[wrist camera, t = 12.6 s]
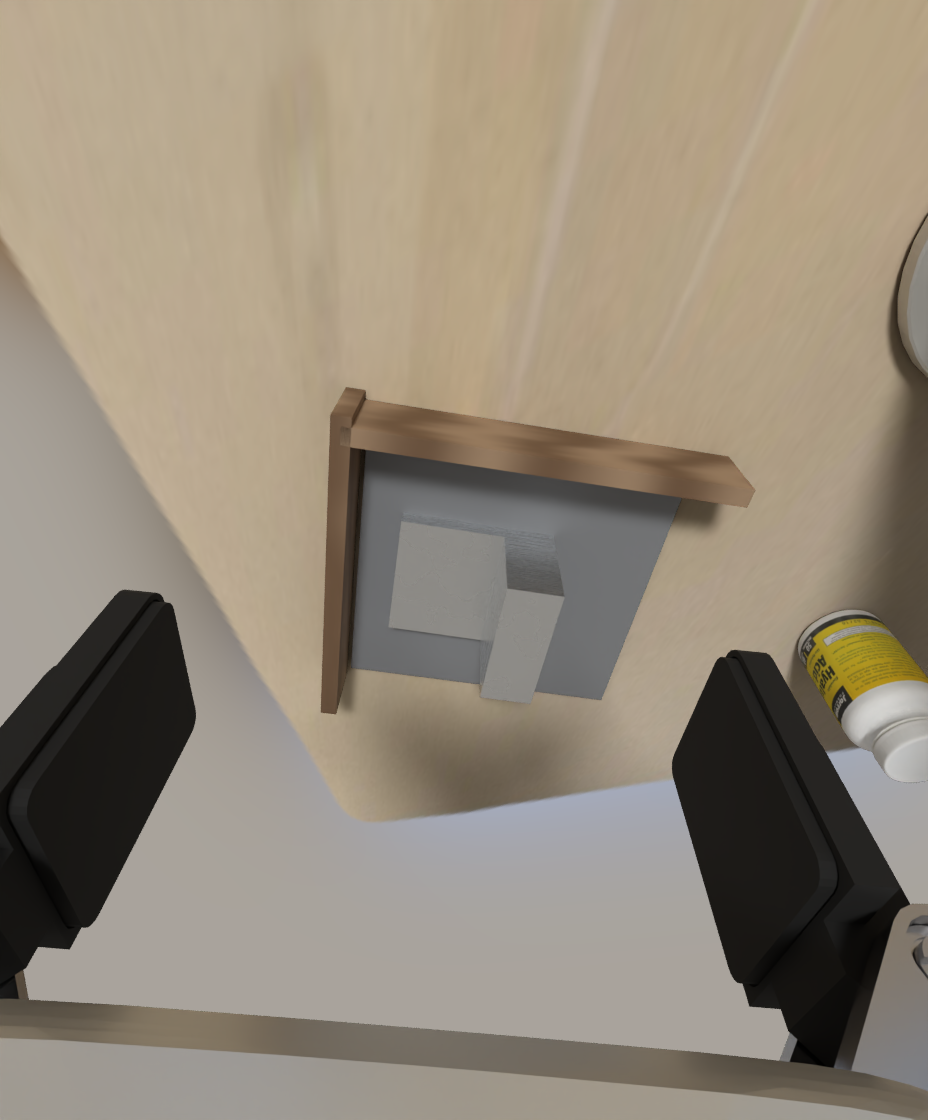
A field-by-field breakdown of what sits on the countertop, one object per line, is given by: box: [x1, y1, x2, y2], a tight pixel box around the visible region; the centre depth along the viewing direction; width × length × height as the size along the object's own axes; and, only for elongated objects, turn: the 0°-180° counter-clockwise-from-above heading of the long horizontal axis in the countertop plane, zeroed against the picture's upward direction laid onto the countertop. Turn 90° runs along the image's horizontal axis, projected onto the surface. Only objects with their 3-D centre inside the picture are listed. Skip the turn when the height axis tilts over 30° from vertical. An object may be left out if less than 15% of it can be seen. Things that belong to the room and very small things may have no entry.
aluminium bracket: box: [389, 513, 565, 704], centre depth 36 cm, size 8×9×6 cm
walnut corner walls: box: [321, 387, 755, 714], centre depth 37 cm, size 21×21×4 cm
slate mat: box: [351, 450, 682, 700], centre depth 39 cm, size 18×18×1 cm
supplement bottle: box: [798, 610, 928, 783], centre depth 37 cm, size 5×5×10 cm
